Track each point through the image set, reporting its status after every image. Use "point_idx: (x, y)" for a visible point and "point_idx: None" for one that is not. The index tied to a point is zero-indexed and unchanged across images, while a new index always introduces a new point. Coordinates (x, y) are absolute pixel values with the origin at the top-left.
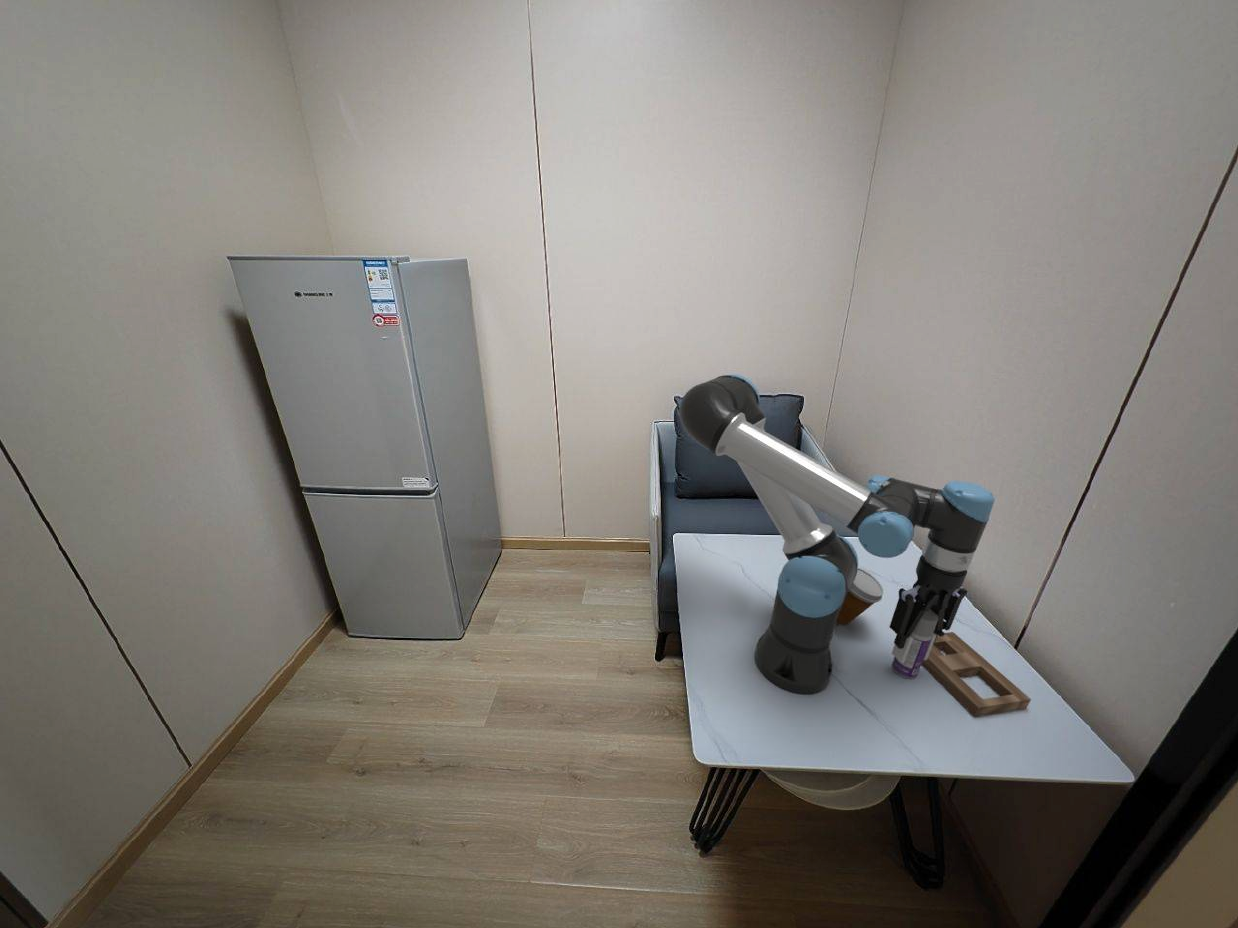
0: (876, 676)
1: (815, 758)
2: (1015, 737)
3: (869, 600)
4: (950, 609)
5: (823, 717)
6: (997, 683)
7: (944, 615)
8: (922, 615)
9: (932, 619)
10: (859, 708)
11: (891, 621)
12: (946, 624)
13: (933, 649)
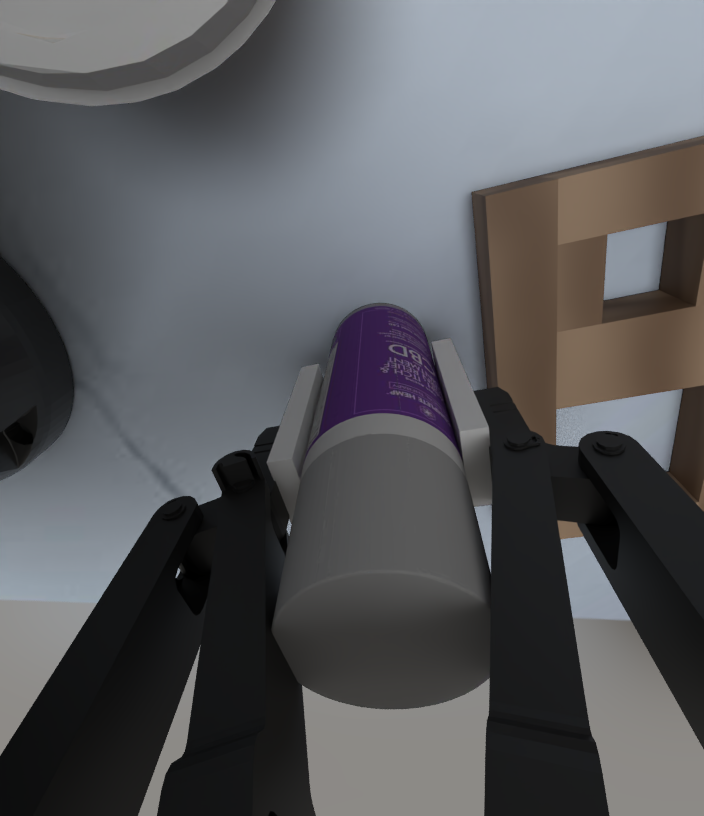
0: (250, 384)
1: (34, 597)
2: (563, 558)
3: (87, 102)
4: (692, 704)
5: (51, 521)
6: (701, 448)
7: (629, 570)
8: (301, 725)
9: (400, 701)
10: (156, 496)
11: (135, 548)
12: (594, 551)
13: (574, 286)
